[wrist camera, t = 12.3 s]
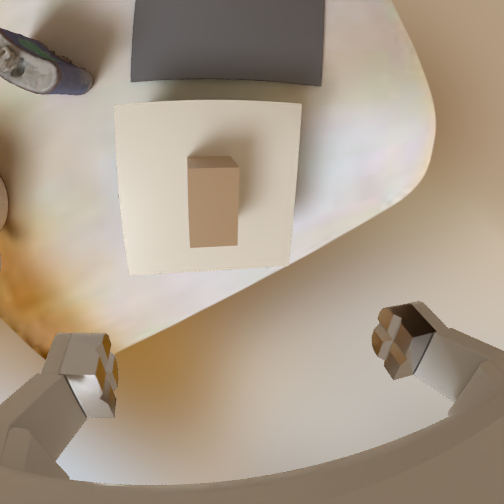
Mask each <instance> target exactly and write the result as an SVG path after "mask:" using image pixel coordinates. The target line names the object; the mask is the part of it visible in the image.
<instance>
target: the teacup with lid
mask: <svg viewBox="0 0 504 504" xmlns="http://www.w3.org/2000/svg"><path fill="white" fill-rule="evenodd" d="M7 213H8V197H7V192H6V188H5V185H4V183H3V181H2V179H1V177H0V231H1V229H2V228H3V226H4V224H5V221H6V218H7ZM0 270H1V255H0Z"/></svg>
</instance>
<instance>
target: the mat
mask: <svg viewBox="0 0 504 504" xmlns="http://www.w3.org/2000/svg"><path fill="white" fill-rule="evenodd" d="M323 35H324V0H136V2H135V13H134V24H133V38H132V57H131V82H139V81H153V80H173V79H240V80H259V81H274V82H285V83H295V84H304V85H313V86H321V78H322V59H323Z"/></svg>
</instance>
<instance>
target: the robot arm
mask: <svg viewBox="0 0 504 504" xmlns="http://www.w3.org/2000/svg"><path fill="white" fill-rule="evenodd" d="M378 320H379V322H380V323H379V325H378V326H377V327H376V328H375V329H374V332H373V335H372V346H373V349H374V351H375V353H376V355H377V356H378V357H379V358H381V359H383V360H385V362H384V367H385V368H386V370H387V371H388V373H389V374H390V376H391V377H392V379H393V380H396V379H399V378H403V377H406V376H410V375H413V374H414V376H415V377H416V378H418V379H419V380H421V381H422V382H424V383H425V384H427V385H428V386H430V387H431V388H433V389H434V390H436V391H437V392H439V393H440V394H442V395H443V396H445V397H447V398H448V399H450V400H451V401H453V402H454V405H453V406H452V407H451V409H450V410H449V412H448V416H449V417H447V418H445V419H443V420H441V421H439V422H437V423H435V424H432V425H430V426H428V427H426V428H424V429H421V430H419V431H417V432H414V433H412V434H409V435H407V436H405V437H402V438H399V439H397V440H394V441H392V442H389V443H386V444H384V445H381V446H378V447H375V448H372V449H369V450H366V451H363V452H360V453H357V454H354V455H350V456H348V457H344V458H340V459H337V460H333V461H330V462H326V463H322V464H319V465H314V466H310V467H306V468H301V469H297V470H292V471H287V472H282V473H277V474H272V475H266V476H260V477H254V478H247V479H240V480H232V481H223V482H213V483H201V484H184V485H122V484H106V483H94V482H85V481H76V480H69V476H68V475H67V474H66V473H65V471H64V470H63V469H62V468H61V467H60V466H59V465H58V464H57V463H56V462H55V461H56V460H57V458H58V457H59V455H60V454H61V453H62V452H63V450H64V449H65V447H66V446H67V445H68V443H69V442H70V441H71V439H72V438H73V437H74V435H75V434H76V433H77V432H78V430H79V429H80V428H81V426H82V425H83V424H84V422H85V421H86V420H87V419H86V418H114V417H115V407H116V397H115V395H114V392H113V391H114V390H115V389H116V388H117V387H118V366H117V361H116V358H115V355H113V354H112V353H111V352H110V348H111V342H110V339H109V336H108V335H107V334H106V333H57V334H56V335H55V337H54V340H53V342H52V345H51V348H50V350H49V353H48V356H47V359H46V361H45V364H44V367H43V370H42V373H41V374H36V375H35V376H34V377H32V378H31V379H30V380H29V381H28V382H26V383H25V384H24V385H23V386H21V387H20V388H19V389H18V390H17V391H16V392H14V393H13V394H12V395H11V396H10V397H9V398H8V399H7V400H5V401H4V402H3V403H2V404H1V405H0V504H504V351H502V350H500V349H498V348H496V347H493V346H491V345H489V344H486V343H484V342H482V341H480V340H478V339H475V338H473V337H471V336H469V335H466V334H464V333H462V332H459V331H457V330H455V329H453V328H449V329H448V328H447V327H446V326H445V325H444V324H443V322H442V321H441V320H440V319H438V317H437V316H436V315H435V314H434V313H433V312H432V311H431V310H430V309H429V308H428V307H427V306H426V305H425V304H424V303H423V302H420V301H417V302H412V303H408V304H403V305H398V306H393V307H387V308H383V309H382V310H381V311H380V313H379V316H378Z"/></svg>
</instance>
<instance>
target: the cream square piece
mask: <svg viewBox="0 0 504 504" xmlns="http://www.w3.org/2000/svg"><path fill="white" fill-rule="evenodd" d="M114 112H115V145H116V163H117V178H118V190H119V201H120V211H121V220H122V228H123V236H124V244H125V251H126V258H127V265H128V271H129V275H142V274H161V273H179V272H197V271H214V270H230V269H246V268H261V267H277V266H289V257H290V247H291V237H292V227H293V216H294V205H295V193H296V181H297V169H298V156H299V142H300V128H301V112H302V104H298V103H286V102H271V101H250V100H179V101H158V102H143V103H131V104H121V105H114Z"/></svg>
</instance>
